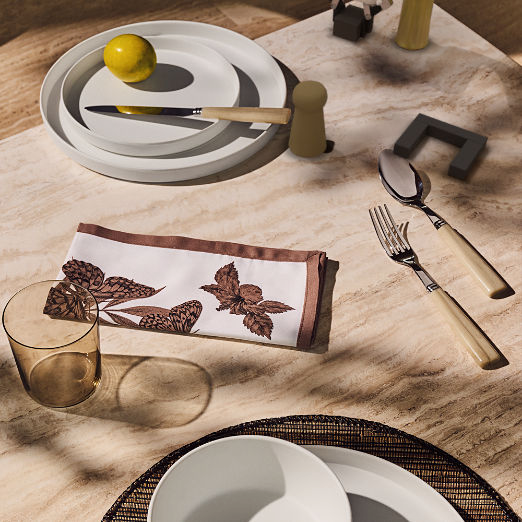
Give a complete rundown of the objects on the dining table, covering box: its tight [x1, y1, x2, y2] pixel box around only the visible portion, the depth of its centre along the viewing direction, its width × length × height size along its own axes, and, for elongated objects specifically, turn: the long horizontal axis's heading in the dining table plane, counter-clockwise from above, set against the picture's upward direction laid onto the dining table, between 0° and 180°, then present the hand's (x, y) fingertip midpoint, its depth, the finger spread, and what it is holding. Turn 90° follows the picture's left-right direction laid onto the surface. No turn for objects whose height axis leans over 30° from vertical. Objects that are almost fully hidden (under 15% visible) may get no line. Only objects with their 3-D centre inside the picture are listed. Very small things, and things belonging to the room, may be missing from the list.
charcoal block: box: [332, 3, 365, 43], centre depth 128 cm, size 5×6×4 cm
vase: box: [394, 0, 435, 51], centre depth 121 cm, size 6×6×14 cm
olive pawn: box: [288, 79, 329, 158], centre depth 104 cm, size 6×6×11 cm
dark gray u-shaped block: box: [392, 112, 489, 181], centre depth 106 cm, size 12×9×2 cm
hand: (351, 29), depth 129 cm, fingers closed on charcoal block, 5 cm apart
